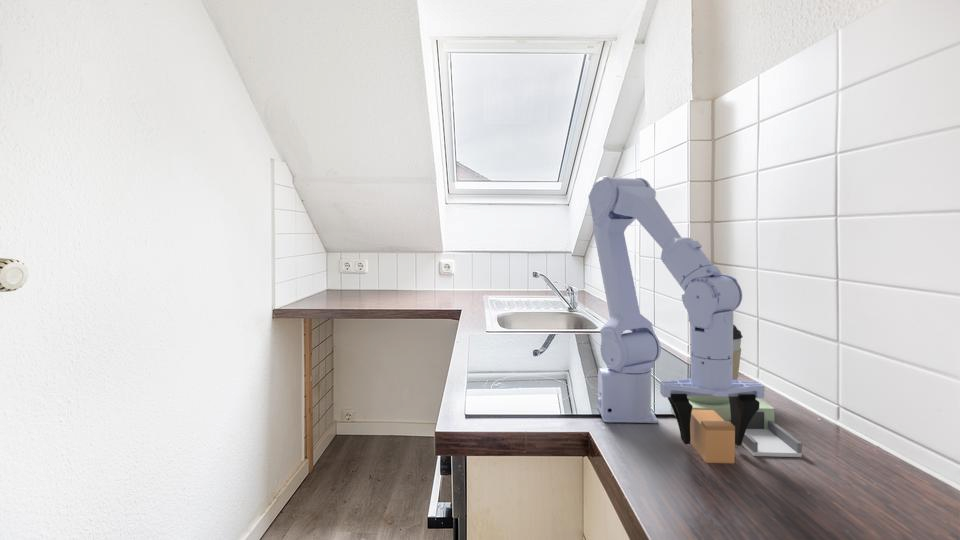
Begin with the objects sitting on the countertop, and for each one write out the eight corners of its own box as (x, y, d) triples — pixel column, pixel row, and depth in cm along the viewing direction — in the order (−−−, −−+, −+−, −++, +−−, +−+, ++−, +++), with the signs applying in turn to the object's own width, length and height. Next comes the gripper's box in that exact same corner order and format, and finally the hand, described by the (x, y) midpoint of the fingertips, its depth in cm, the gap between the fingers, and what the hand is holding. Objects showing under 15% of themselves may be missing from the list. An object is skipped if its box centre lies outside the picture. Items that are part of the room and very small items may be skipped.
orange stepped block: (705, 463, 68) (706, 426, 67) (687, 439, 76) (687, 406, 75) (734, 464, 67) (735, 426, 67) (713, 440, 75) (713, 406, 75)
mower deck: (707, 455, 70) (707, 416, 70) (670, 410, 88) (671, 379, 87) (805, 457, 68) (806, 417, 68) (748, 411, 86) (749, 380, 86)
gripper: (669, 362, 67) (669, 452, 68) (776, 362, 65) (774, 455, 66) (656, 350, 74) (656, 432, 75) (752, 350, 72) (750, 434, 73)
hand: (710, 441), depth 71 cm, fingers open, 7 cm apart
